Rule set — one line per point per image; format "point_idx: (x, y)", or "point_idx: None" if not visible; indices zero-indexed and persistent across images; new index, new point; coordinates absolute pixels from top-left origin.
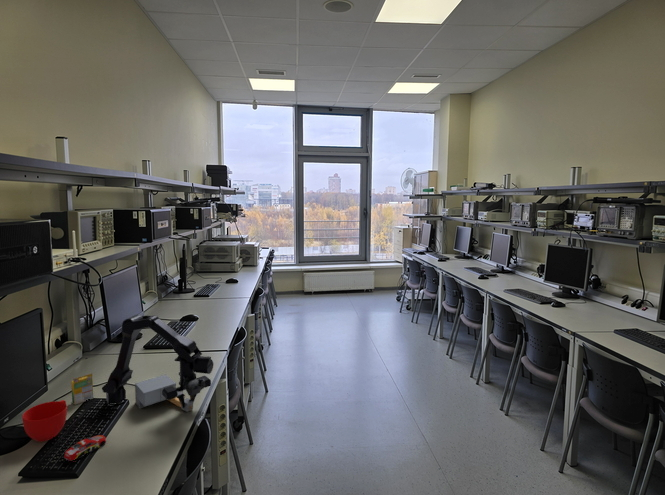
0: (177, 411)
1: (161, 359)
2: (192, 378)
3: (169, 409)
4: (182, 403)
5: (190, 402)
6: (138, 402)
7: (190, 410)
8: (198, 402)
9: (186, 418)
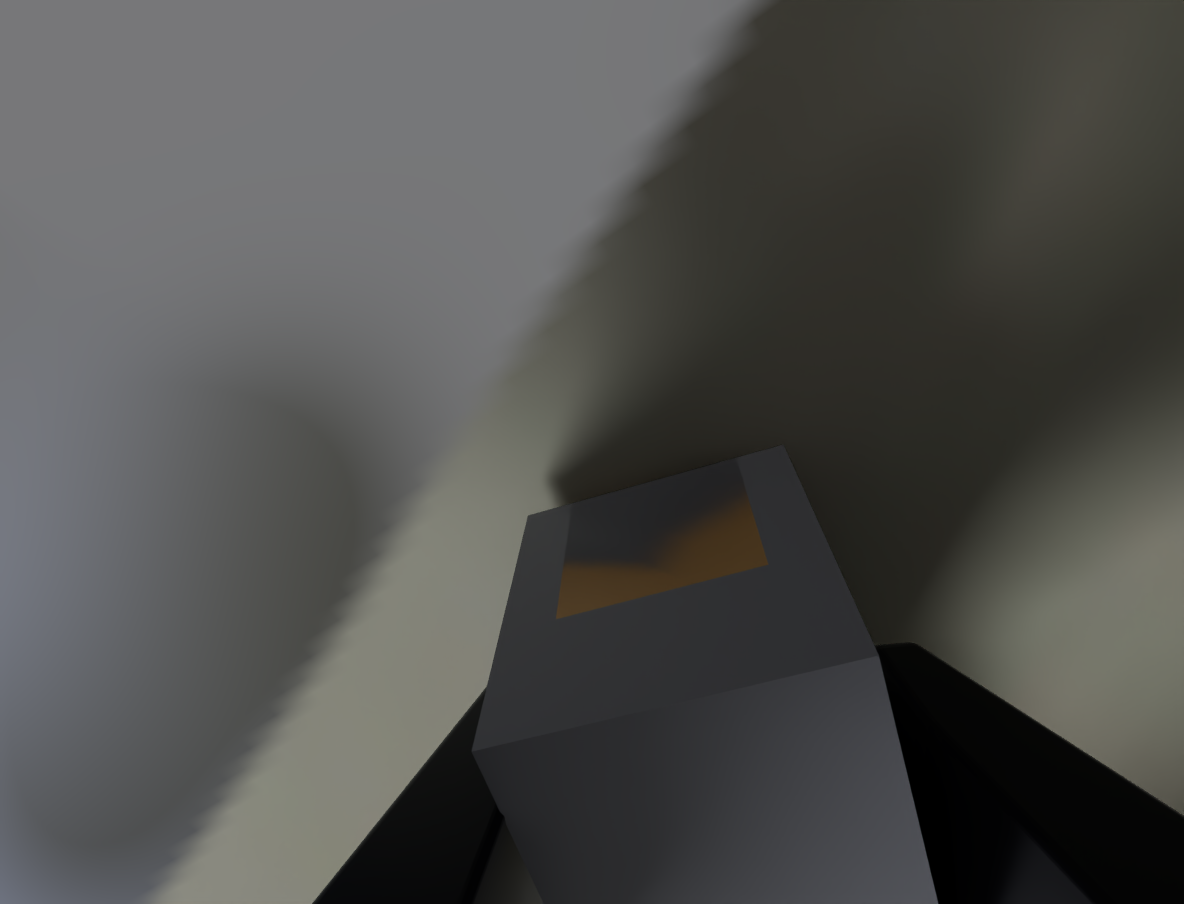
0: None
1: None
2: None
3: None
4: (1140, 806)
5: (657, 715)
6: None
7: (630, 489)
8: (233, 809)
9: (973, 52)
